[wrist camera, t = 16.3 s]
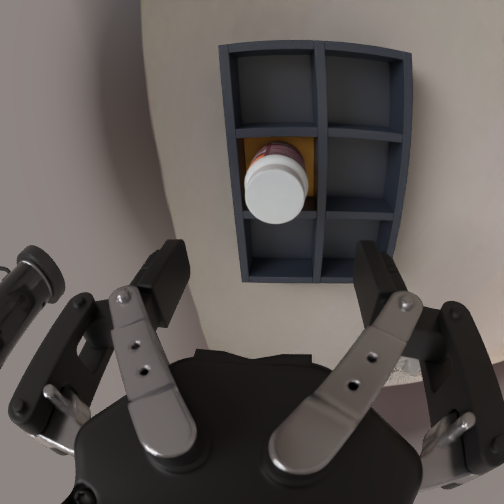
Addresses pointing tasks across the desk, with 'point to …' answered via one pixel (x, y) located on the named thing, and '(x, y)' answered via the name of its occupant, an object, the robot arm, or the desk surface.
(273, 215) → the pill bottle
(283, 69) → the compartment tray
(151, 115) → the desk surface
